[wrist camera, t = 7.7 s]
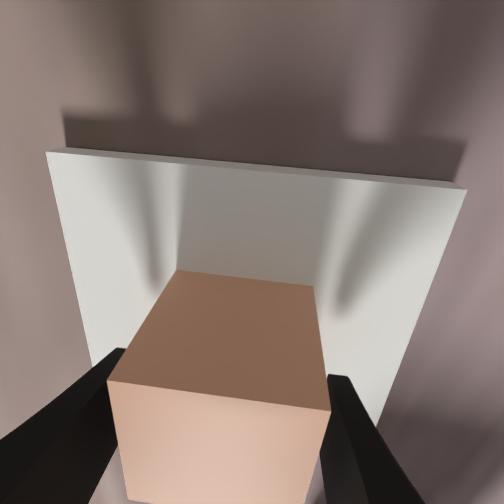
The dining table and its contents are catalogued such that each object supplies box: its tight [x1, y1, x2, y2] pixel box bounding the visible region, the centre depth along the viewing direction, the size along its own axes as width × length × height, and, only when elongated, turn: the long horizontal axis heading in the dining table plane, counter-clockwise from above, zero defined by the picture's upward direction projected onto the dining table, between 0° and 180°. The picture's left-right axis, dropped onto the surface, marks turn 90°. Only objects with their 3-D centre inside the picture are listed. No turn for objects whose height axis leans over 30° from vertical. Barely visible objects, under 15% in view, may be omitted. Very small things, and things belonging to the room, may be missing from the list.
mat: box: [46, 147, 467, 427], centre depth 13 cm, size 13×13×1 cm
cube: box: [107, 270, 331, 504], centre depth 10 cm, size 5×5×5 cm
